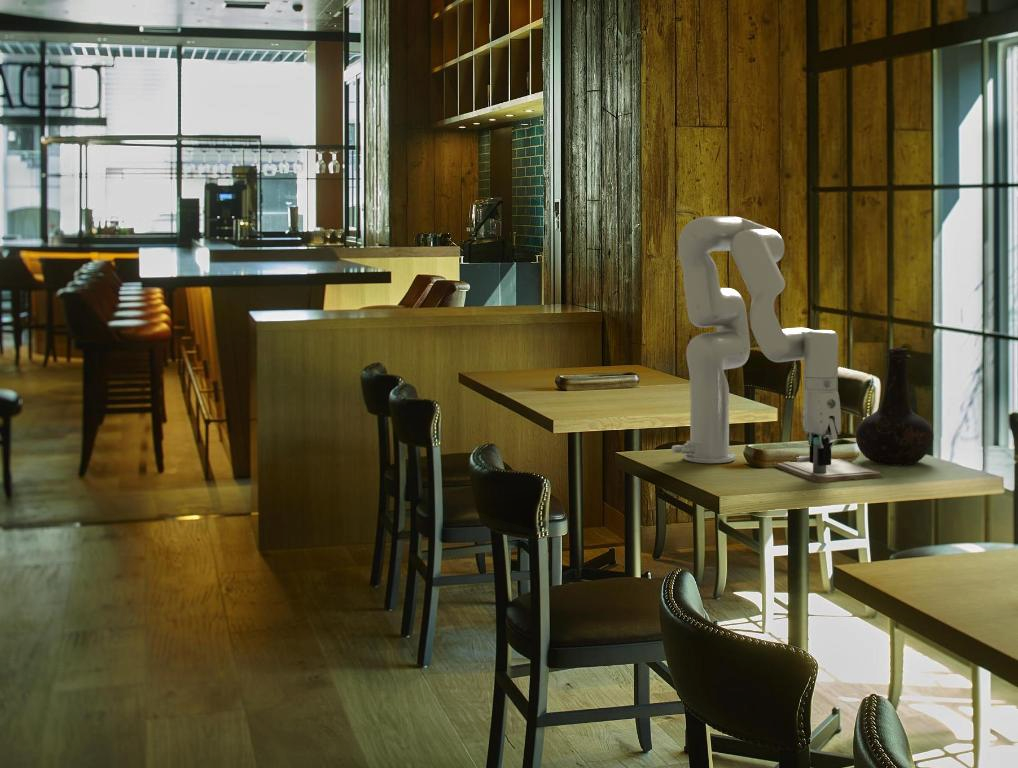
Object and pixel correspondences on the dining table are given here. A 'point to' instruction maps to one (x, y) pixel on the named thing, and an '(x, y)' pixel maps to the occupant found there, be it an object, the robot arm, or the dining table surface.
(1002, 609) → the dining table surface
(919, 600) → the dining table surface
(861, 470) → the writing board
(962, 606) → the dining table surface
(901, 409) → the glass bottle
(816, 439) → the marker
